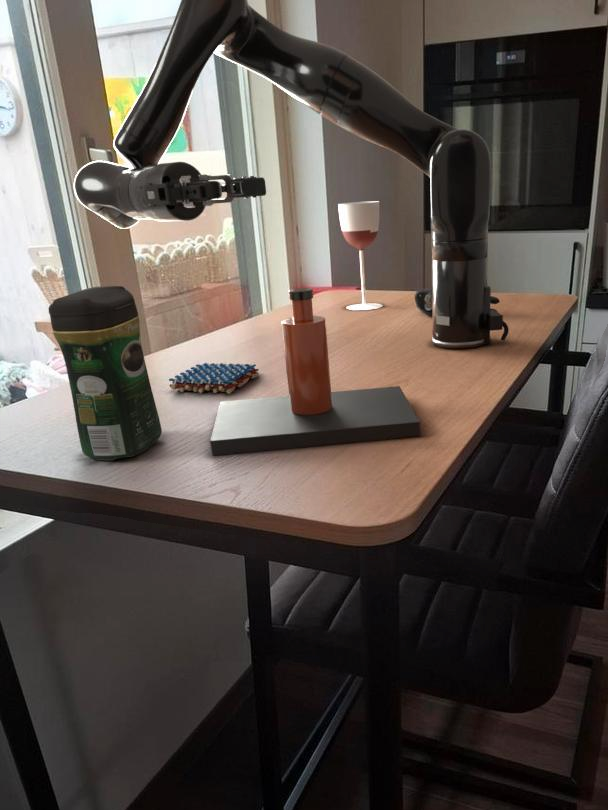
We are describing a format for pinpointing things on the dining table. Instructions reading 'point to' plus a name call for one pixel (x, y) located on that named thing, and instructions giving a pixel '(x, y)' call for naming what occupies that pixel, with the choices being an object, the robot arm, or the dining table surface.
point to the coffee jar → (106, 371)
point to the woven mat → (214, 377)
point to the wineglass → (360, 236)
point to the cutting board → (313, 422)
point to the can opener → (425, 301)
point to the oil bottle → (306, 356)
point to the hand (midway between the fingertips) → (237, 188)
